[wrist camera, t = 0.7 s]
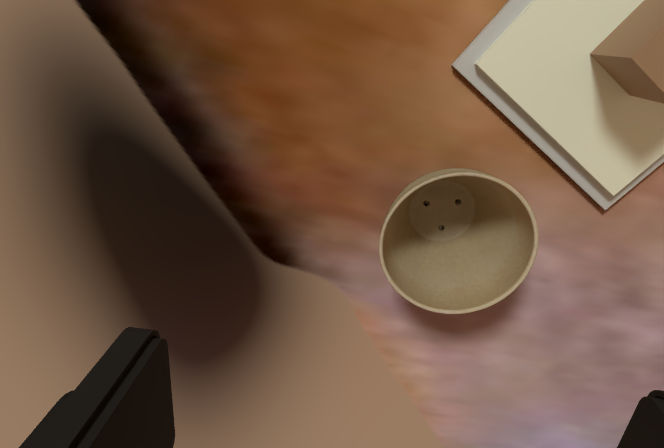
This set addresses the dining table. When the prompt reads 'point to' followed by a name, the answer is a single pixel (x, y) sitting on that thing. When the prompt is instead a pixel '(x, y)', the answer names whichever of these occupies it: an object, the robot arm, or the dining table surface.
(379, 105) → the dining table surface
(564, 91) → the lid
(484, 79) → the mat
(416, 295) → the flower pot
